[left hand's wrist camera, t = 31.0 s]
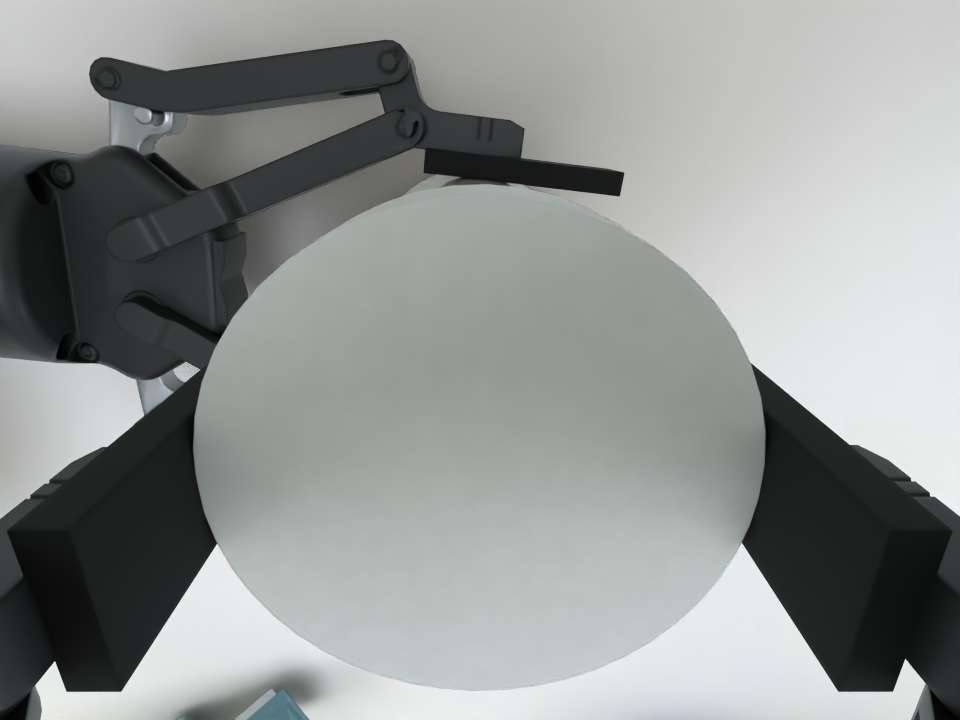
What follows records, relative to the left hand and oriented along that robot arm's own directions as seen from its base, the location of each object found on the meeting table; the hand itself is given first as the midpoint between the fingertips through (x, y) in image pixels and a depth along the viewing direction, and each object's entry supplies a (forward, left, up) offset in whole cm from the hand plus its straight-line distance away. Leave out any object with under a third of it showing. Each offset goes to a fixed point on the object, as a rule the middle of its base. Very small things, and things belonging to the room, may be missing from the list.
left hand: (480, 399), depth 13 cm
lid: (0, 0, +3) cm, 3 cm away
